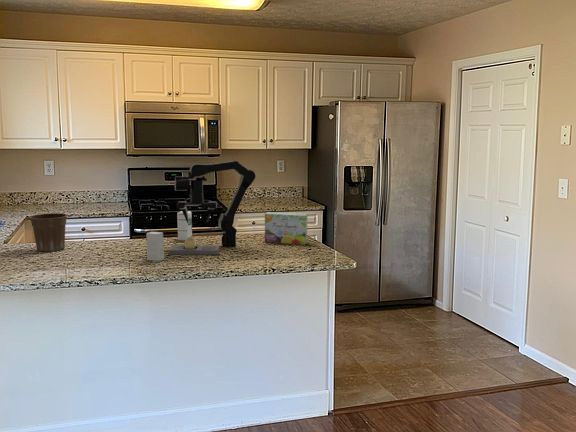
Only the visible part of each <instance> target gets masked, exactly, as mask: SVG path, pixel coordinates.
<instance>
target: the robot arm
mask: <svg viewBox="0 0 576 432" xmlns="http://www.w3.org/2000/svg"><path fill="white" fill-rule="evenodd" d="M227 170H228V171H230V170H233V171H235V172H236V173H238V174H239V175H240V177H239V183H238V187H237V188H236V191H235V192H234V195H233V197H232V199H231V202H230V203H229V205H228V208H227V210H226V211H225V212H224V213H222V212H221V214H220V216H219V219H217V221H218V228H219V229H221V230H222V236H221V245H222V247H226V248H229V247H231V248H232V247H237V232H238V230H237V229H236V228H235V227H234V226H233V225H234V221H235V216H236V213H237V211H238V208H239V206H240V204H241V202H242V200H243V198H244V197H245V195H246V192H247V190H248V189H249V187H250V186H251V185H252V183H253V182H254V181H255V180H256V173H255V171H254V170H251V169H249V168H248V169H247V168H246V167H245V166H244V165H242V164H241V163H240V162H239V161H237V160H231V161H226V162H224V161H223V162H218V163H209V164H207V163H193V164H192V165H190V167H189V172H188V173H187V174H186V176H179V175H177V176H175V177H174V191H179V192H181V191H183V192H184V191H185V192H186V191H188V189H190V193H189V198H188V199H189V201H190V202H187V200H186V201H183V200H181V201H180V200H179V201H178V202H176V209H179V211H182V212H183V214H184V216H185V218H186V221H187V223H188V213H187V211H188V207H189V208H191V207H192V208H195V207H196V208H197V207H200V208H204V207H205V208H206V207H207V209H206V219H205V222H206V224H208V223H209V218H210V216H211V212H212V211H214V210H215V209H217V208H218V202H217V201H216V200H215V201H211V200H210V201H208V202H205V197H204V182H207V181H208V179H207V178H206V177H205V175H208V174H210V173H215V172H222V171H227Z"/></svg>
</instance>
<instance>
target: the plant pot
mask: <svg viewBox="0 0 576 432" xmlns="http://www.w3.org/2000/svg"><path fill="white" fill-rule="evenodd" d="M67 217H68V214H66V213H61V212H59V213H58V212H57V213H55V212H52V213H38V214H34V215H30V216H29V219H30V222H31V227H32V229H33V234H34V240H35V247H36V251H37V252H39V253H40V252H41V253H42V252H43V253H54V252H59V251H61V250H64V249H65V247H66V246H65V245H66V243H65V242H66V224H67Z"/></svg>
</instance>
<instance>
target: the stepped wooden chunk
mask: <svg viewBox="0 0 576 432" xmlns="http://www.w3.org/2000/svg"><path fill="white" fill-rule="evenodd" d="M184 245H185V249H196V245H197V238H194V236H192V237H188V238H187V239H186V240H184Z"/></svg>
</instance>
